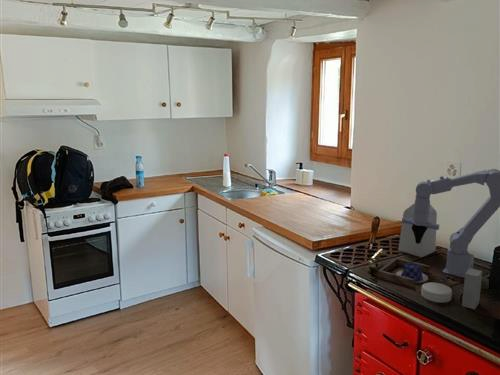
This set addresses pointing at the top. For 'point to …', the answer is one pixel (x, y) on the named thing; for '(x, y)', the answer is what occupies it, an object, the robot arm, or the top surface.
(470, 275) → the skincare box
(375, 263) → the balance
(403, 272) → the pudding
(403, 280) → the holder
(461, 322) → the top surface
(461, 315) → the top surface
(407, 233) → the milk
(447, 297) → the white short cylinder
